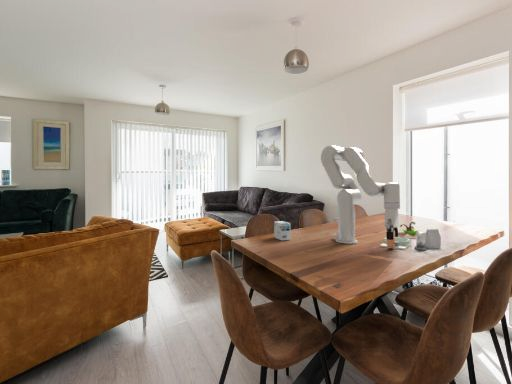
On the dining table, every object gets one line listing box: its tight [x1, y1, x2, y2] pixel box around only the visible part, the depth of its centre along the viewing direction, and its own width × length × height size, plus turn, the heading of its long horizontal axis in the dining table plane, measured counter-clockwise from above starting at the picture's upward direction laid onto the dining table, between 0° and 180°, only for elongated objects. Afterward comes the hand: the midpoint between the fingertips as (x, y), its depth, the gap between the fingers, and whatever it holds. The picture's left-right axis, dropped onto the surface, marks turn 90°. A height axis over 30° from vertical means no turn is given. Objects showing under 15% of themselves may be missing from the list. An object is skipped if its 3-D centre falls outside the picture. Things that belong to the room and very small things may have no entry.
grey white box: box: [425, 228, 442, 249], centre depth 144 cm, size 4×7×10 cm, turn 100°
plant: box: [397, 221, 419, 240], centre depth 168 cm, size 20×20×11 cm
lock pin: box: [387, 230, 395, 249], centre depth 144 cm, size 3×14×9 cm, turn 140°
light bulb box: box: [273, 220, 292, 241], centre depth 167 cm, size 11×7×11 cm, turn 22°
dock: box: [379, 236, 411, 251], centre depth 147 cm, size 12×16×4 cm
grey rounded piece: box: [414, 231, 428, 251], centre depth 140 cm, size 6×6×9 cm
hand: (392, 238), depth 139 cm, fingers open, 9 cm apart
